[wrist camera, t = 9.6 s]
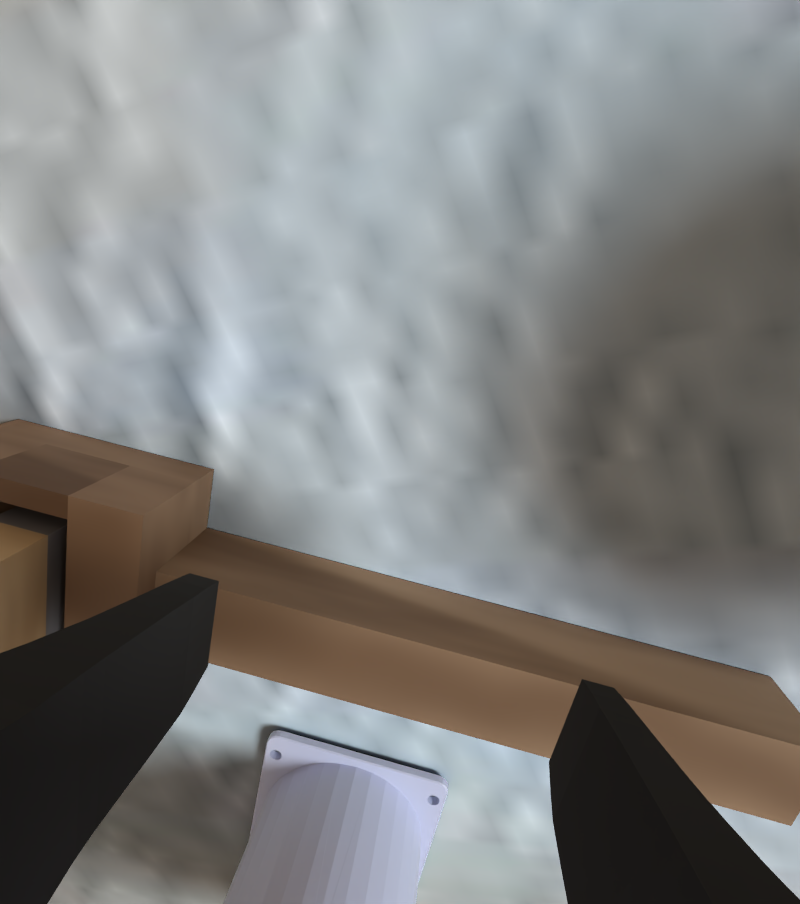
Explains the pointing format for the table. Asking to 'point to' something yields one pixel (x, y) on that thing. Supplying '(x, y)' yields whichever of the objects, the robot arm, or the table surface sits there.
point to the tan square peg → (31, 576)
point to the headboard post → (390, 626)
